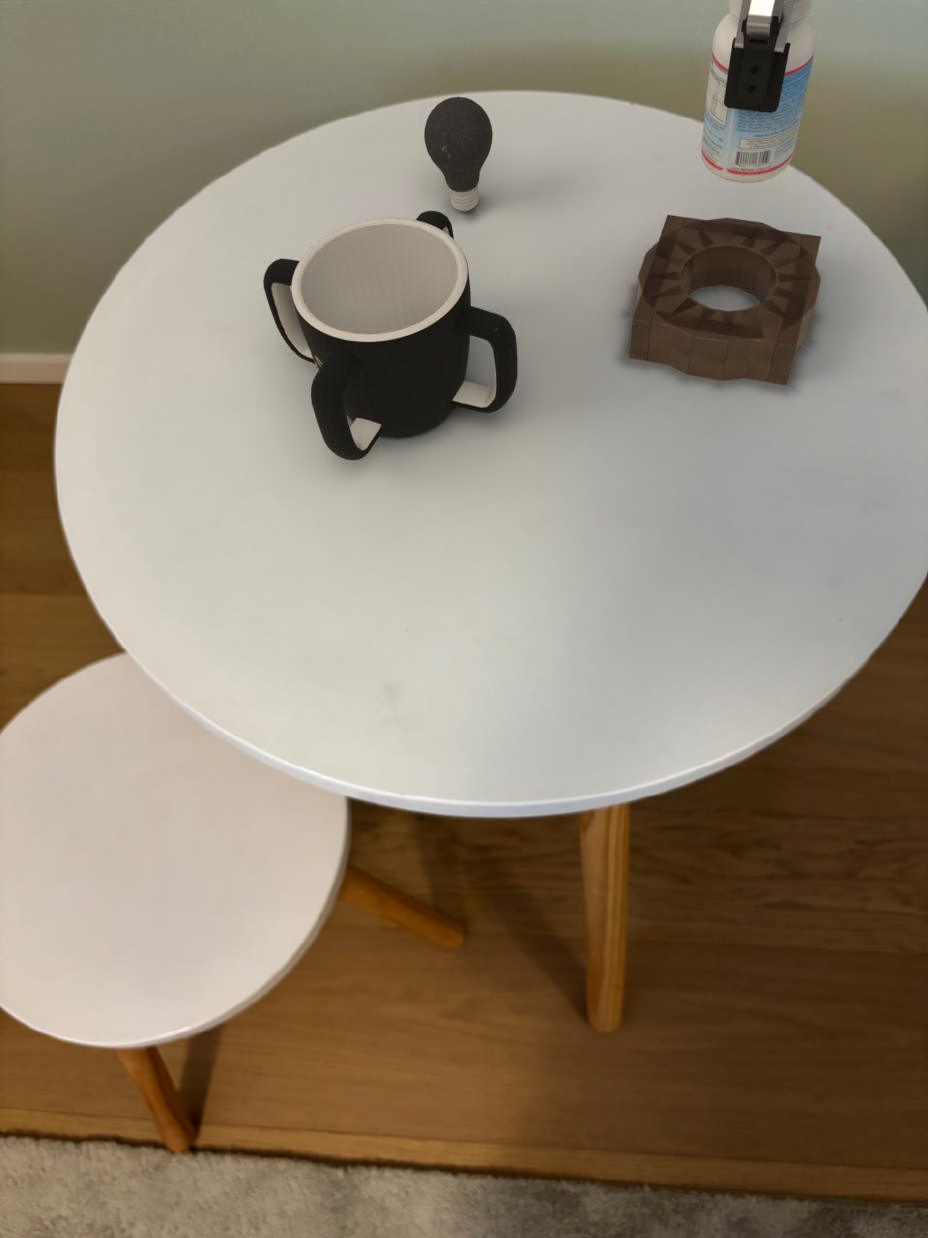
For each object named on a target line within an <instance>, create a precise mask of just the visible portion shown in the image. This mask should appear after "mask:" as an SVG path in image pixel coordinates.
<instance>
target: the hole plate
mask: <svg viewBox="0 0 928 1238" xmlns="http://www.w3.org/2000/svg"><path fill="white" fill-rule="evenodd" d="M821 240H822V236H821V235H814V234H808V233H802V232H801V233H800V232H793V231H786V230H779V229H777V228H775V227H773V226H772V225H769V224H767V223H764V222H761V221H754V220H746V219H740V218H733V217H721V218H713V219H702V218H695V217H687V216H680V215H673V214H667V215H666V217H665V221H664V223H663V227H662V229H661V233H660V235H659V238H658V241H657V242H656V243H655V244H654V245H652V247H651V248H650V249H649V250H647V252H645V255H644V257H643V260H642V263H641V266H640V269H639V272H638V275H637V283H636V284H637V286H636V297H635V298H636V301H635V310H634V313H633V316H632V319H631V331H630V345H629V359H633V360H638V361H643V362H650V363H655V364H661V365H667V366H670V367H672V368H674V369H676V370H678V371H679V372H682V373H683V374H685V375H689V376H694V377H699V378H706V379H711V380H717V381H724V382H725V381H731V380H732V381H733V380H739V379H748V380H753V381H758V382H764V383H769V384H776V385H782V386H787V383H788V380H789V377H790V372H791V369H792V366H793V365H792V364H793V361H794V358H795V354H797V352H798V351H799V350H800V348H802V346H803V345H804V344H806V343H805V342H806V340H807V336H808V333H809V329H810V325H811V322H812V319H813V314H814V311H815V307H816V303H817V298H818V294H819V289H820V285H821V281H822V279H821V277H820V273H819V270H818V268H817V265H816V262H817V258H818V253H819V249H820V245H821ZM716 286H726V287H732V288H739V289H740V290H743V291H744V292H747V293H749V294H751V295H753V296H755V297H756V299H758V300H759V301H760V303H758V304H755V305H753V306H751V307H749V308H744V309H736V310H723V309H717V308H712V307H708V306H706V305H705V304H702V303H701V302H699V301H697V300H695V299H693V298H692V296H691V295H690V294H692V293H693V292H696V291H698V290H700V289H702V288H708V287H716Z"/></svg>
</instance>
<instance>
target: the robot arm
mask: <svg viewBox="0 0 928 1238" xmlns="http://www.w3.org/2000/svg"><path fill="white" fill-rule="evenodd" d="M794 1H795V0H784V3H783V8H782V13H781V18H780V23H779V16H774V13H775V5H776V0H742V6H741V11H740V17H739V22H738V28H737V34H736V38H734V39H733V42H732V48H731V55H730V62H729V69H728V76H727V83H726V90H725V97H724V105H725V106H726V107H727V108H731V109H740V110H749V111H758V112H766V113H773V112H775V111H776V110H777V109H778V106H779V102H780V96H781V91H782V86H783V81H784V76H785V70H786V65H787V60H788V55H789V50H790V44H791V43H786V40H787V35H788V30H789V25H790V20H791V15H792V11H793V6H794Z"/></svg>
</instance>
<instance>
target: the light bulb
mask: <svg viewBox="0 0 928 1238" xmlns="http://www.w3.org/2000/svg"><path fill="white" fill-rule="evenodd" d="M493 133H494V132H493V126H492V123H491V119H490V117H489V115H488V113H487V112H486V111H485V109H484V108H483V107H482V106H481V105H480V104H479V103H477V102H475V100H473V99H471V98H468V97H464V96H451V97H449V98H445V99H444V100H442V101H440V102H439V103H437V105H435V107H433V109H431V112H430V113H429V114H428V117H427V119H426V122H425V125H424V132H423V137H424V138H423V140H424V144H425V148H426V151H427V153H428V155H429V158H430V159H431V161H432V162H433V163H434V165H435V166H436V167H437V168H438V169H439V171H440V172H441V173H442V175H443V177H444V180H445V184H446V185H447V187H448V193H449V201H450V204H451V206H452V207H453V208H454V209H455V210H458V211H460V212H462V213H468V212H469V211H471V210H473V209H474V208H475V207H477V205H478V203H479V185H478V184H479V182H480V176H481V175H480V174H481V172H482V171H481V170H482V168H483V166H484V164H485V162H486V160H487V158H488V157H489V155H490V152H491V148H492V144H493Z"/></svg>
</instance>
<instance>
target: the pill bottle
mask: <svg viewBox="0 0 928 1238" xmlns="http://www.w3.org/2000/svg"><path fill="white" fill-rule="evenodd" d="M783 3H784V0H776V5H775V13H774V16H779V23H780V18H781V13H782V8H783ZM741 6H742V0H728V8H729V13H727V14H726V15H725V16H724V17H723V18H722V19H721V21H720V22H719V23H718V25H717V27H716V29H715V32H714V33H713V34H714V35H713V39H712V44H711V45H712V46H711V56H710V64H709V72H708V81H707V91H706V100H705V109H704V115H703V116H704V118H703V124H702V125H703V126H702V134H701V135H702V136H701V143H700V157H701V160H702V163H703V164H704V166H705V168H706V169H707V170H708V171H709V172H710V173H712V174H713V175H714V176H717V177H719V178H721V179H723V180H725V181H729V182H733V183H739V184H754V183H761V182H765V181H769V180H770V179H773V178H775V177H776V176H779V174H781V173H783V172H784V170H785V169H786V168H787V167H788V166H789V165H790V163H791V161H792V158H793V156H794V153H795V148H796V144H797V139H798V134H799V129H800V124H801V120H802V115H803V110H804V105H805V100H806V95H807V91H808V85H809V81H810V76H811V72H812V66H813V60H814V57H815V51H816V45H817V30H816V26H815V24H814V23H813V20H812V18H811V17H810V16H809V13H810V11H811V10H812V7H813V0H795V1H794V6H793V11H792V15H791V20H790V25H789V30H788V35H787V40H786V43H791V44H790V50H789V55H788V60H787V65H786V70H785V76H784V81H783V86H782V91H781V96H780V102H779V106H778V109H777V110H776V111H775V112H773V113H766V112H758V111H749V110H740V109H731V108H727V107H726V106H725V105H724V97H725V90H726V83H727V76H728V69H729V62H730V55H731V48H732V42H733V39H734V38H736V34H737V28H738V22H739V17H740V11H741Z"/></svg>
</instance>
